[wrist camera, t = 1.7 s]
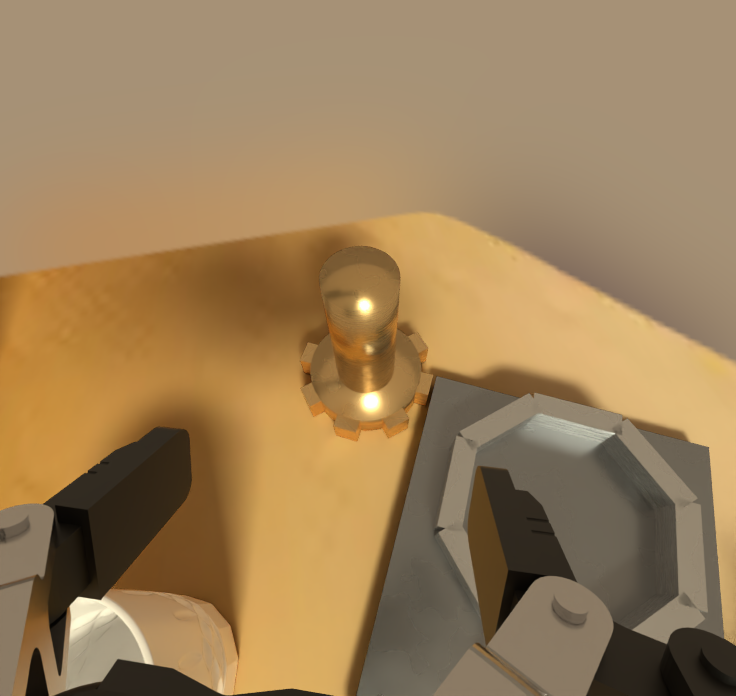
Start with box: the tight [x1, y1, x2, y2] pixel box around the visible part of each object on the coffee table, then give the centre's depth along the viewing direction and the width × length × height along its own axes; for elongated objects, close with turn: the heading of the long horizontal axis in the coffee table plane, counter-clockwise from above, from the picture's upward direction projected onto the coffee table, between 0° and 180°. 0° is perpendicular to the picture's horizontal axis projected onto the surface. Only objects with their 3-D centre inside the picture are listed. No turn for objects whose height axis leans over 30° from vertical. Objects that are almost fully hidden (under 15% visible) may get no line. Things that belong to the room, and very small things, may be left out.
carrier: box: [356, 376, 724, 696], centre depth 21 cm, size 16×18×4 cm
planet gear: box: [300, 246, 433, 441], centre depth 23 cm, size 8×8×11 cm
